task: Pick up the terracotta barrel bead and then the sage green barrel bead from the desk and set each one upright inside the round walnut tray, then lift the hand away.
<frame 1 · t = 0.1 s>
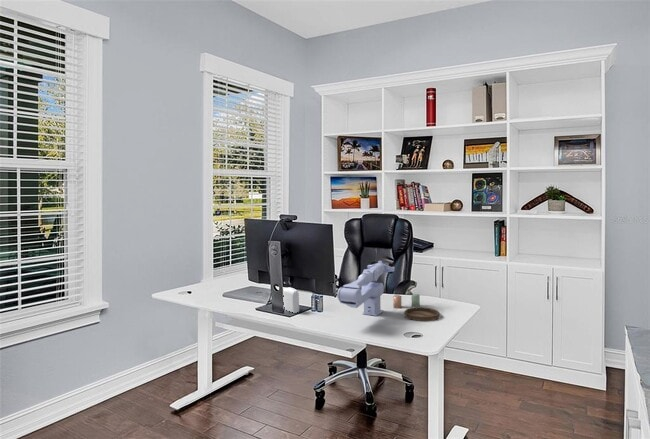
hand: (386, 264, 250), 22 cm above the table, tool horizontal, fingers open, 7 cm apart
photo printer: (291, 311, 240), on the table
sage green bead: (415, 306, 245), on the table
terracotta bead: (397, 307, 243), on the table
tray: (421, 316, 227), on the table
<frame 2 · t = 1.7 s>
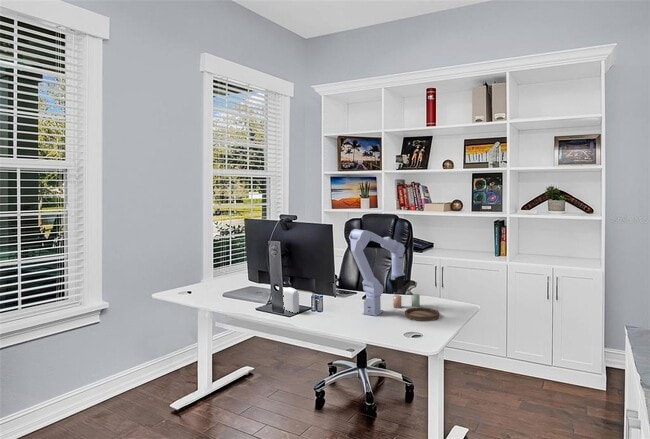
hand: (397, 290, 243), 9 cm above the table, tool pointing down, fingers open, 7 cm apart
nothing on the table moved.
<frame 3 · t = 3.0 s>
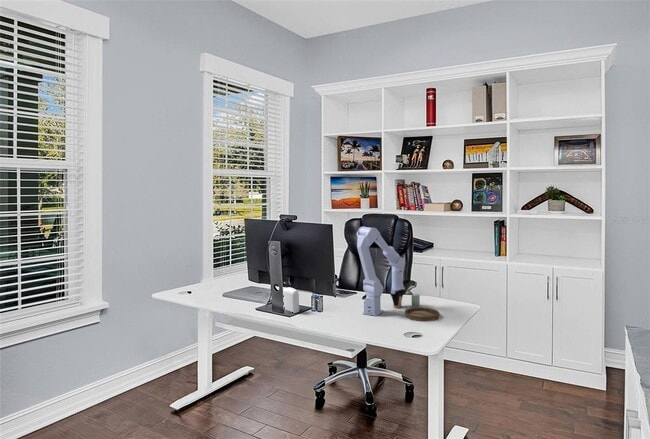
hand: (397, 304, 243), 2 cm above the table, tool pointing down, fingers closed on terracotta bead, 4 cm apart
terracotta bead: (397, 307, 243), on the table, touching gripper
everything else where it was.
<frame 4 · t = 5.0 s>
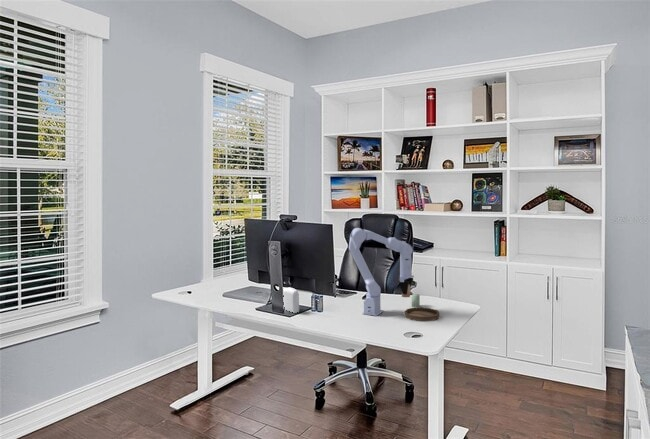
hand: (406, 293, 235), 9 cm above the table, tool pointing down, fingers closed on terracotta bead, 4 cm apart
terracotta bead: (405, 296, 235), point 8 cm above the table, touching gripper
everything else where it was.
when the fingers open (4 cm above the table, at t = 7.0 s): terracotta bead drops 1 cm, resting on tray.
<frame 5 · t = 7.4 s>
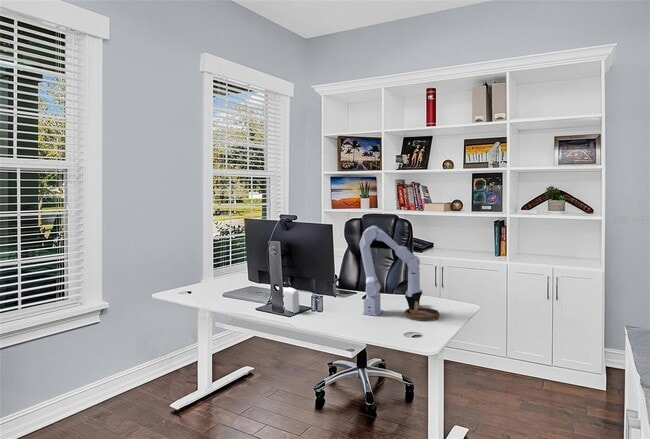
hand: (413, 307, 229), 4 cm above the table, tool pointing down, fingers open, 7 cm apart
terracotta bead: (413, 313, 229), point 1 cm above the table, touching tray
everything else where it was.
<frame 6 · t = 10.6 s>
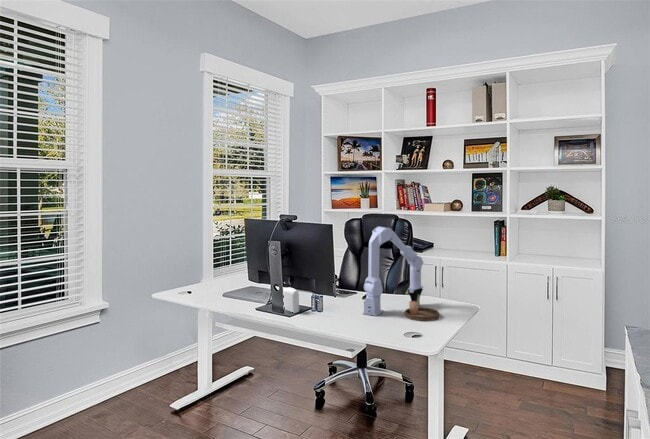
hand: (415, 303, 245), 2 cm above the table, tool pointing down, fingers closed on sage green bead, 4 cm apart
sage green bead: (415, 306, 245), on the table, touching gripper
everything else where it was.
when the fingers open (4 cm above the table, at t = 14.8 s): sage green bead drops 1 cm, resting on tray.
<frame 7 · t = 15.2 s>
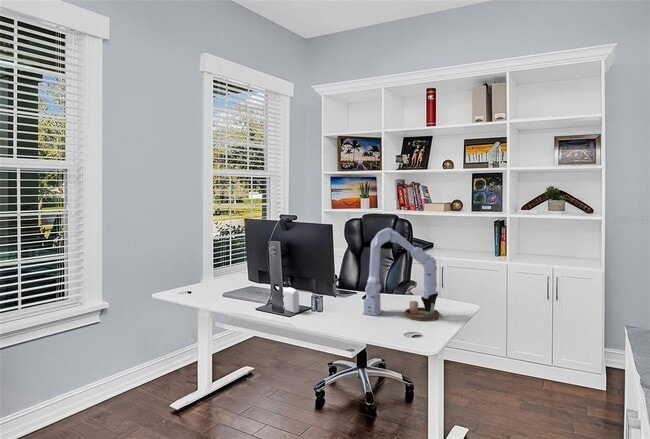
hand: (429, 309, 225), 4 cm above the table, tool pointing down, fingers open, 7 cm apart
sage green bead: (429, 315, 225), point 1 cm above the table, touching tray
everything else where it was.
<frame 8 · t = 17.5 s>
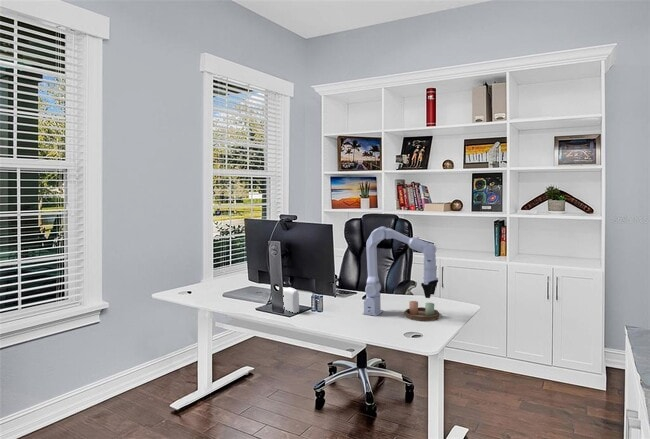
hand: (429, 296, 224), 10 cm above the table, tool pointing down, fingers open, 7 cm apart
nothing on the table moved.
at the end: terracotta bead inside the target area on the tray (4.1 cm from its centre), point 0.6 cm above the tray's base; sage green bead inside the target area on the tray (4.0 cm from its centre), point 0.6 cm above the tray's base; the gripper is holding nothing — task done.
